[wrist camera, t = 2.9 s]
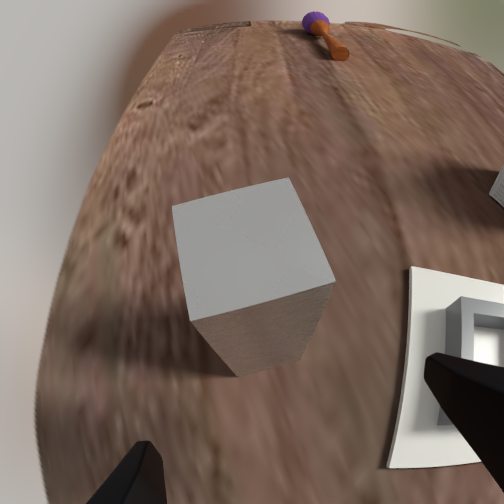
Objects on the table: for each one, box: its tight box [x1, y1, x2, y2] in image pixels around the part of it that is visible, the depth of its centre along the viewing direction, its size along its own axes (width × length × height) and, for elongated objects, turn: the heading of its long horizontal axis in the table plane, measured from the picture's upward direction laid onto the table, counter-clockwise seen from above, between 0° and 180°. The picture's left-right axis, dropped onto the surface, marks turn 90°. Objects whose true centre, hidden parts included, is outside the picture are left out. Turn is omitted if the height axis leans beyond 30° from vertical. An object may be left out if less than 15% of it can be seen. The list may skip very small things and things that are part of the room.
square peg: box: [172, 178, 336, 377], centre depth 15 cm, size 4×4×13 cm
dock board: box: [386, 266, 504, 468], centre depth 17 cm, size 16×16×4 cm
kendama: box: [302, 12, 349, 61], centre depth 47 cm, size 6×6×20 cm
